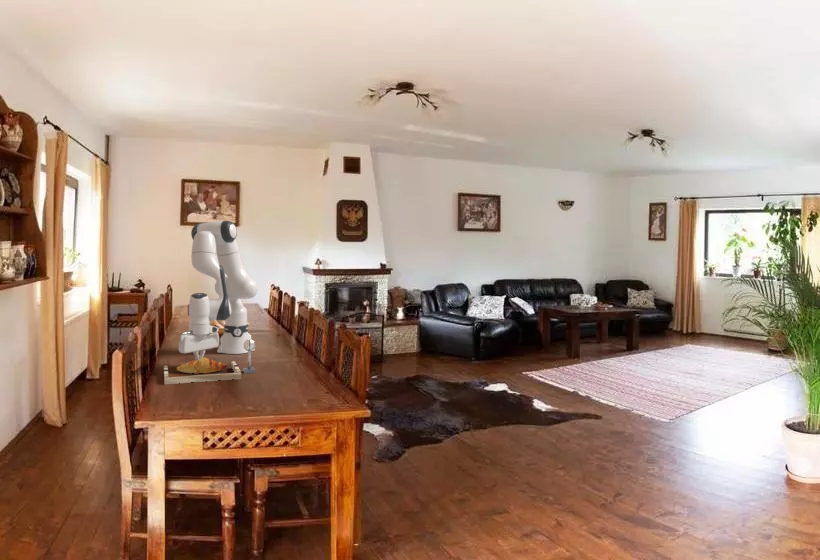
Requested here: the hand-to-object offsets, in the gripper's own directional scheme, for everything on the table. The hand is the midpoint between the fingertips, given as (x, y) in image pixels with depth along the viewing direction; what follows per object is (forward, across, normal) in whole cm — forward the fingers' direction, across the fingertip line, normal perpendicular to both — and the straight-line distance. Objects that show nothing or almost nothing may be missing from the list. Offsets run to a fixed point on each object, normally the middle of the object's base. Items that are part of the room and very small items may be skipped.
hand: (199, 360), depth 261 cm
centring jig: (+4, -7, -9) cm, 13 cm away
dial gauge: (+4, +8, -22) cm, 24 cm away
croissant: (+5, -2, -4) cm, 7 cm away
